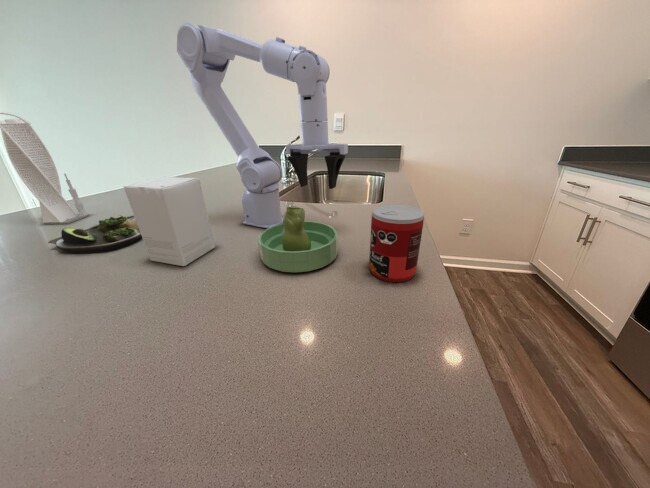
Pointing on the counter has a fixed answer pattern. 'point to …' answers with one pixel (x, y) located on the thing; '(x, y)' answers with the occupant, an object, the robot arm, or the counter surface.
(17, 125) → the skyscraper
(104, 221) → the salad plate
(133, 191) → the white product box
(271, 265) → the bowl
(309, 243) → the pear
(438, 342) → the counter surface
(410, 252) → the canned food
